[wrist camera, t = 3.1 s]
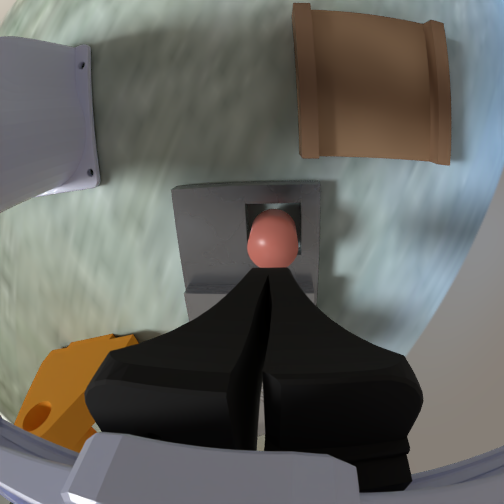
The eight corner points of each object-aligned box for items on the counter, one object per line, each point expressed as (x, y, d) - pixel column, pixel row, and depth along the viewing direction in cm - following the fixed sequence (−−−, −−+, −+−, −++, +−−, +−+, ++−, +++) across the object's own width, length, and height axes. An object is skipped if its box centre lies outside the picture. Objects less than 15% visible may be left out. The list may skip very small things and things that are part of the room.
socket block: (176, 186, 17) (163, 194, 15) (318, 180, 17) (323, 188, 15) (204, 363, 23) (198, 383, 21) (310, 365, 22) (311, 386, 20)
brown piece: (291, 16, 13) (293, 2, 11) (426, 31, 12) (443, 23, 10) (299, 153, 16) (302, 158, 14) (432, 159, 15) (449, 165, 13)
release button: (250, 209, 17) (245, 224, 14) (295, 208, 16) (298, 223, 14) (253, 250, 18) (248, 270, 15) (295, 250, 17) (298, 270, 15)
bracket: (97, 397, 27) (50, 485, 16) (56, 345, 24) (-10, 433, 14) (180, 391, 25) (141, 511, 14) (137, 327, 22) (64, 454, 11)
